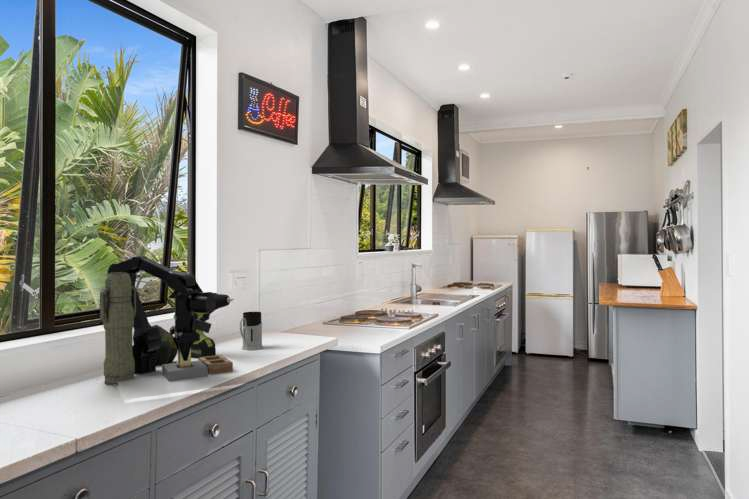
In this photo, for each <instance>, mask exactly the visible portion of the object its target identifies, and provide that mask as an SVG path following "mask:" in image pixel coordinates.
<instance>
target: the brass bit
mask: <svg viewBox="0 0 749 499" xmlns="http://www.w3.org/2000/svg"><path fill="white" fill-rule="evenodd" d="M191 361H192V358H191V349H190V352H189V356H188V360H187V361H184V360H183V357H182V355H181V352H180V350H179V347H178V351H177V363H178V368H184V367H191Z"/></svg>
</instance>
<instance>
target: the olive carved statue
mask: <svg viewBox="0 0 749 499" xmlns="http://www.w3.org/2000/svg"><path fill="white" fill-rule="evenodd" d="M106 275H107V276H106V277H105V278H106V279H105V281H104V288H102V289H101V291H100V292H99V319H100V320H101V321H102V322H103V324H102V325H103V326H102V327H103V329H104V332H105V333H104V335H105V336H104V340H105V344H104V345H105V346H104V347H105V350H104V351H105V355H104V356H105V358H104V361H103V376H104V381H103V382H104V384H105V385H108V386H119V382H126V381H130V380H133V379H134V378H135V374H134V372H135V360H134V357H133V329H134V327H133V326H134V317H136V290H137V288H136V289H135V288H134V286H131V279H130V276H129V274H128V273H126V272H111V273H110V274H106Z"/></svg>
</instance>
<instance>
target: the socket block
mask: <svg viewBox="0 0 749 499" xmlns="http://www.w3.org/2000/svg"><path fill="white" fill-rule="evenodd" d="M161 369H162V371H161V373H162V376H164V378H165V379H166V380H167V381H168V382H174V381H175V382H176V381H182V380H191V379H198V378H207V377H208V375H209V374H208V367H207V366H206V365H204V364H203V363H202V362H201V361H199V359H198V360H191V367H184V368H178V362H171V363H169V364H162V365H161Z"/></svg>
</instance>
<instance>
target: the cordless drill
mask: <svg viewBox="0 0 749 499" xmlns="http://www.w3.org/2000/svg"><path fill="white" fill-rule="evenodd" d="M212 296H213V297H214V299H215V301H216V307H215V310H214V311H213V312H212V313H214V312H215V311H216V310H218V309H221V308H224V307H227V306H229V305H230V304H231V302H233V301H234V298H230V296H229V295H228V294H225V293H224V294H223V293H220V294H219V293H218V292H212ZM212 313H195V312H193V315H195V317H196V319H198V318H199V317H202V318H204V319H205V322H208V320H210V315H211V314H212ZM196 332H197V333H199V334H200V341H196V342H194V343H193V344H192V345H191V359H199V357H206V356H216V354H217V353H216V351H217V349H216V342H215V341H214V339H213V338H211V337H210V336H207V335H206V334H205V332H204V331H200V330H197V329H196Z"/></svg>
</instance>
